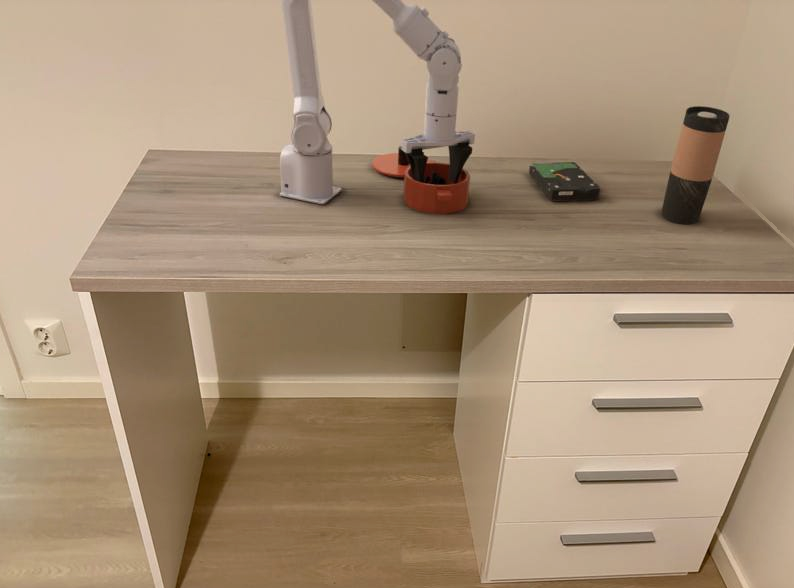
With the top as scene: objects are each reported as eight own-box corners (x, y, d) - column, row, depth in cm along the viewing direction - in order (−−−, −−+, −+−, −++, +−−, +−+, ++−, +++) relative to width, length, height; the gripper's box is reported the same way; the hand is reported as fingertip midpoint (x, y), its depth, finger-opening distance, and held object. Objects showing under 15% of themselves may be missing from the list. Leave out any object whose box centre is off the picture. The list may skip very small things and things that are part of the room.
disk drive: (599, 201, 145) (572, 173, 156) (602, 188, 143) (574, 160, 155) (550, 203, 142) (527, 174, 154) (552, 189, 141) (528, 161, 152)
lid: (375, 180, 147) (375, 159, 144) (369, 157, 157) (369, 137, 155) (439, 180, 149) (440, 158, 146) (428, 157, 159) (430, 137, 157)
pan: (411, 220, 132) (412, 192, 129) (398, 184, 146) (399, 157, 143) (476, 219, 134) (479, 191, 131) (457, 183, 148) (459, 157, 145)
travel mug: (706, 217, 140) (737, 113, 129) (688, 228, 136) (719, 121, 124) (671, 205, 145) (698, 103, 133) (652, 215, 140) (678, 110, 128)
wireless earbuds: (421, 192, 141) (423, 167, 139) (432, 190, 143) (434, 166, 140) (439, 206, 137) (441, 180, 134) (451, 204, 138) (453, 178, 135)
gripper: (463, 102, 136) (457, 172, 144) (394, 110, 130) (392, 182, 138) (483, 113, 131) (476, 184, 139) (413, 121, 125) (410, 195, 133)
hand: (436, 184), depth 138 cm, fingers open, 7 cm apart
